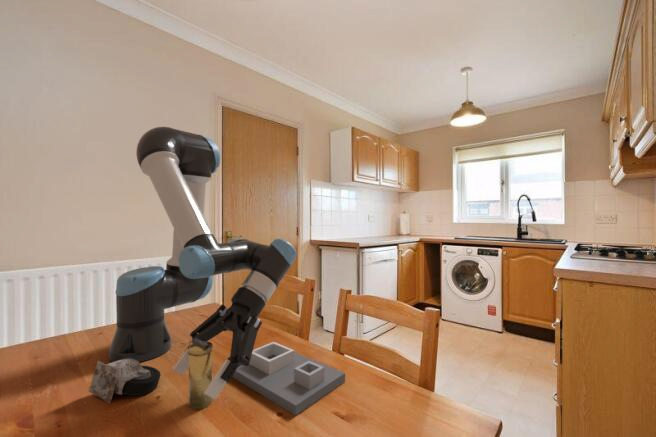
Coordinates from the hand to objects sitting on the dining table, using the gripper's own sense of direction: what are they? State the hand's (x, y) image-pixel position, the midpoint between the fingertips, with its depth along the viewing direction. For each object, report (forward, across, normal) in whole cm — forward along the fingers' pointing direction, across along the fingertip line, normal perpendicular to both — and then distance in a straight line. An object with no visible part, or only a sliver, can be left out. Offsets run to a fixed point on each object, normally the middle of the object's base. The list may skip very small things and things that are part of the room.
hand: (192, 383), depth 62 cm
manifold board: (-10, -6, -18) cm, 21 cm away
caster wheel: (+8, +17, 0) cm, 19 cm away
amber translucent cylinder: (+2, 0, -5) cm, 5 cm away
